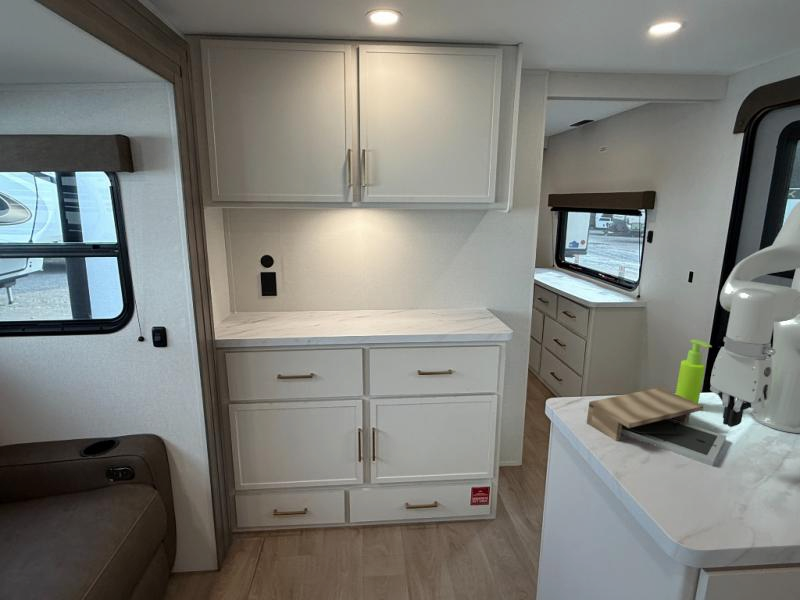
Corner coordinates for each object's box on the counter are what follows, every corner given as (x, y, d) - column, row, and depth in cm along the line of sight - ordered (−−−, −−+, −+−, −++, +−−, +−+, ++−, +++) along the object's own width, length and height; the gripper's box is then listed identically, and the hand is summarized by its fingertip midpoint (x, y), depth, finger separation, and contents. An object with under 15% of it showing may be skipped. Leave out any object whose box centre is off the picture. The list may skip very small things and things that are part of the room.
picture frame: (617, 434, 117) (712, 469, 103) (618, 424, 117) (714, 457, 103) (636, 415, 128) (725, 443, 115) (638, 405, 128) (727, 433, 114)
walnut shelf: (656, 407, 132) (660, 387, 131) (699, 427, 121) (703, 406, 120) (586, 423, 122) (589, 401, 120) (625, 446, 110) (629, 423, 109)
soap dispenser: (689, 412, 130) (702, 345, 125) (669, 401, 136) (680, 338, 131) (705, 410, 131) (718, 344, 127) (684, 399, 138) (696, 336, 133)
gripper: (797, 355, 92) (779, 437, 96) (721, 334, 105) (708, 406, 109) (775, 361, 89) (757, 445, 93) (699, 338, 102) (687, 412, 107)
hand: (730, 424), depth 101 cm, fingers closed
